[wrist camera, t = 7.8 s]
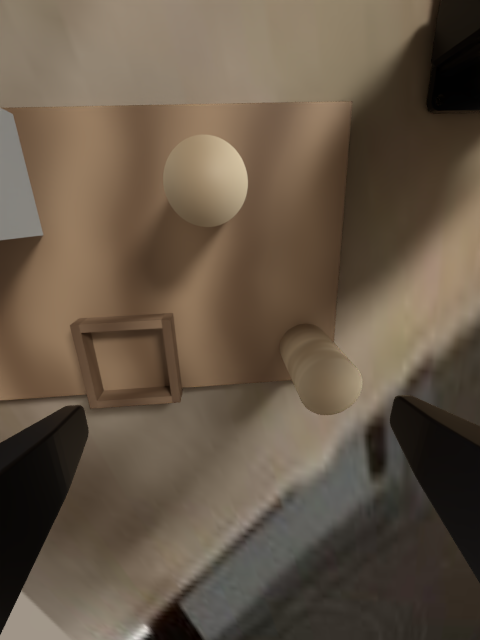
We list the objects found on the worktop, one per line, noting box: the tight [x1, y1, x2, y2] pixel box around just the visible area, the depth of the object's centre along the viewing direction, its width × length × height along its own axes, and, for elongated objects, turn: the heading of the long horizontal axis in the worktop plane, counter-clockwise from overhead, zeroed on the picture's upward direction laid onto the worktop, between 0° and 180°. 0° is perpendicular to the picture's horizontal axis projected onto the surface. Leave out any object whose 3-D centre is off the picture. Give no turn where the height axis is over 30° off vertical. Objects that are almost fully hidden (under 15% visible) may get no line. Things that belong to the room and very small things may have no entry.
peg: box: [163, 135, 248, 227], centre depth 14 cm, size 3×3×5 cm
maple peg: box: [280, 324, 362, 415], centre depth 17 cm, size 3×3×5 cm
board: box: [0, 101, 352, 409], centre depth 17 cm, size 23×16×3 cm
